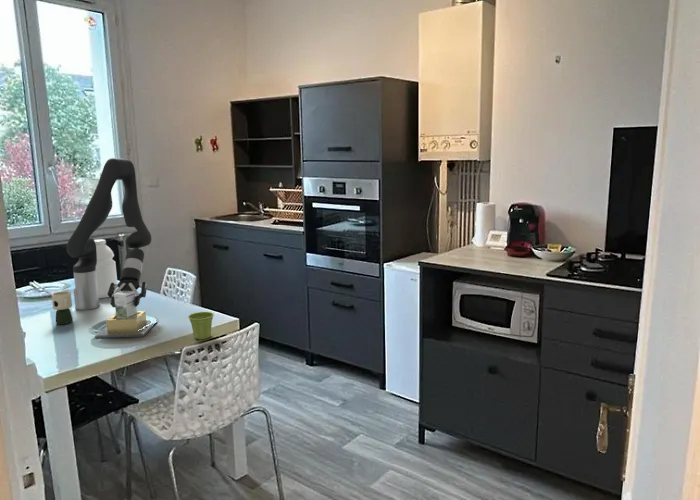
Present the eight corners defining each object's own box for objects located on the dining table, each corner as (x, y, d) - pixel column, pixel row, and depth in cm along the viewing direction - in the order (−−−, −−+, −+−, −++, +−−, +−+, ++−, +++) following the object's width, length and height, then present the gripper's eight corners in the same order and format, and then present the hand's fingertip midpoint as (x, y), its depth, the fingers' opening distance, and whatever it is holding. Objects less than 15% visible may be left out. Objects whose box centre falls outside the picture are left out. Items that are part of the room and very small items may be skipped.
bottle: (103, 290, 279) (98, 237, 274) (124, 292, 274) (119, 238, 270) (81, 297, 266) (75, 241, 261) (103, 299, 261) (98, 243, 256)
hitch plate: (95, 338, 205) (94, 323, 204) (113, 323, 222) (111, 309, 221) (143, 336, 206) (142, 321, 205) (157, 322, 223) (156, 308, 222)
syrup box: (138, 325, 216) (135, 290, 213) (128, 330, 210) (125, 294, 208) (127, 324, 218) (124, 289, 215) (116, 328, 212) (113, 293, 210)
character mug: (51, 322, 226) (47, 292, 223) (69, 318, 230) (66, 289, 228) (59, 328, 218) (55, 297, 215) (77, 324, 223) (74, 293, 220)
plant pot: (191, 342, 198) (189, 320, 196) (188, 335, 206) (186, 313, 205) (217, 339, 202) (215, 316, 200) (212, 331, 210) (211, 310, 209)
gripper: (111, 267, 217) (102, 302, 208) (146, 266, 218) (139, 300, 209) (117, 277, 223) (109, 311, 214) (151, 276, 224) (145, 310, 215)
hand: (124, 306), depth 211 cm, fingers open, 8 cm apart
